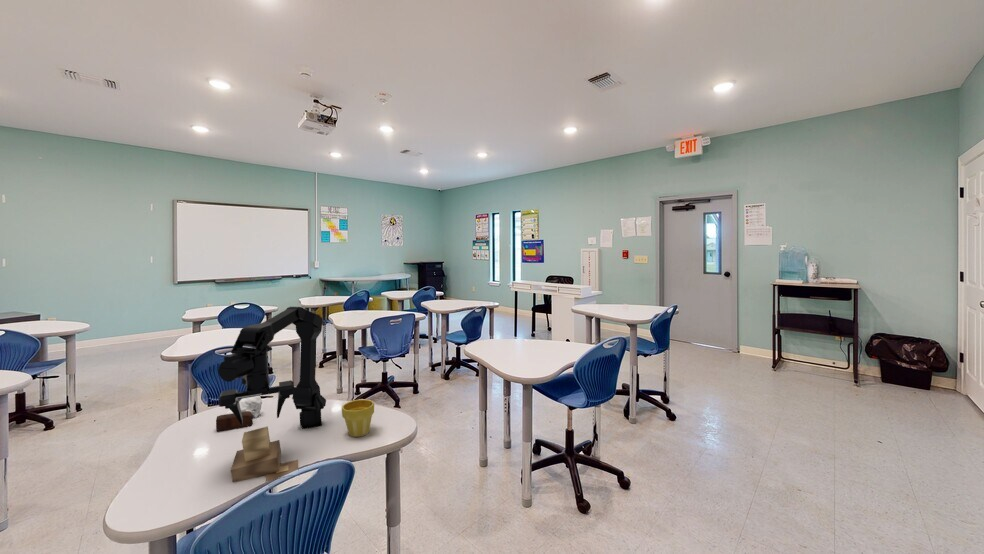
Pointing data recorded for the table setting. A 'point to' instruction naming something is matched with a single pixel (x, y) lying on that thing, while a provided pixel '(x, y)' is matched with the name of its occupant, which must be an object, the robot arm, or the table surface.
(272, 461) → the tan flat square block
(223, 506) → the table surface
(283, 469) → the swatch
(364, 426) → the plant pot
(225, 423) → the brick
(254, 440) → the oak cube
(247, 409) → the white lumpy chunk
